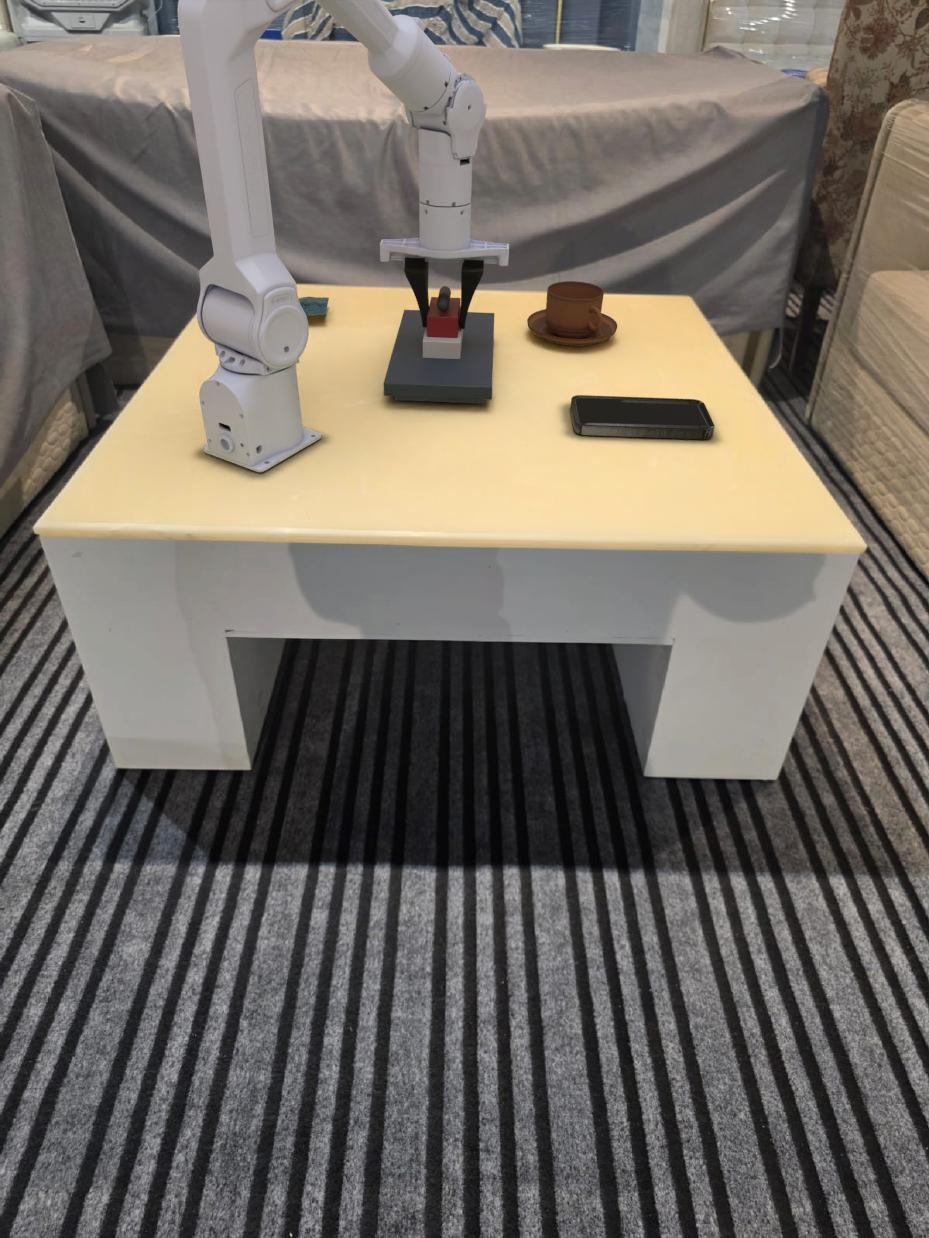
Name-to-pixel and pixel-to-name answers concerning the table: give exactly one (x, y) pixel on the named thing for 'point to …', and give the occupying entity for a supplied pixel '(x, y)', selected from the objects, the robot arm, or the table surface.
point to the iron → (443, 327)
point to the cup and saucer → (573, 315)
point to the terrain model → (314, 305)
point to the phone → (641, 417)
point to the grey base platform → (442, 364)
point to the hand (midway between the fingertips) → (444, 325)
